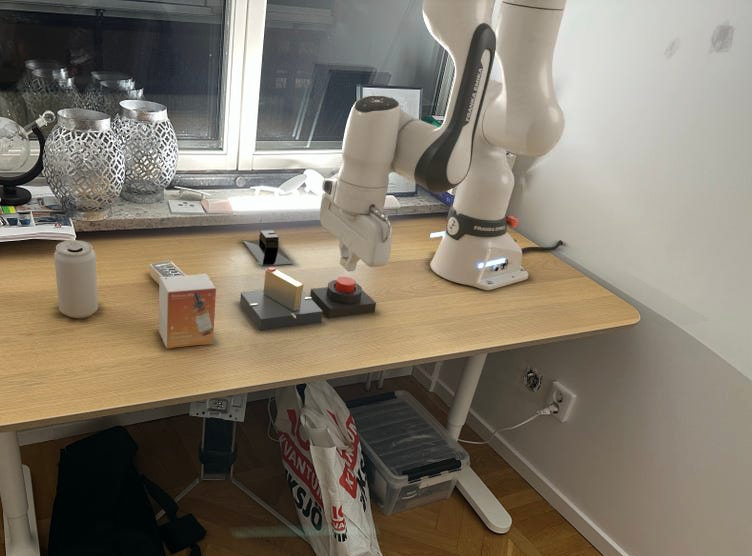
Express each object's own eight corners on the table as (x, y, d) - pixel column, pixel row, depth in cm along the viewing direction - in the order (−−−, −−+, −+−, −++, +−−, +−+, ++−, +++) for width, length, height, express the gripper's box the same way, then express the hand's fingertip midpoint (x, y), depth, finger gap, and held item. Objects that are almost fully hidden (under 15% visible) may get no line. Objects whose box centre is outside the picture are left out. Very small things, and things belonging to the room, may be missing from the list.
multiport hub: (174, 300, 120) (174, 288, 119) (149, 274, 127) (149, 263, 126) (195, 295, 123) (196, 284, 121) (170, 271, 130) (170, 260, 128)
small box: (166, 350, 106) (166, 292, 100) (158, 332, 110) (158, 275, 105) (214, 344, 109) (217, 287, 104) (204, 327, 113) (206, 272, 108)
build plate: (293, 265, 139) (295, 245, 136) (260, 267, 136) (262, 247, 134) (272, 241, 148) (274, 221, 146) (242, 242, 145) (243, 222, 143)
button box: (354, 293, 131) (357, 275, 129) (374, 313, 125) (378, 294, 123) (309, 298, 127) (312, 280, 125) (328, 319, 121) (331, 300, 119)
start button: (348, 283, 126) (349, 275, 125) (357, 292, 124) (359, 284, 123) (331, 285, 125) (333, 277, 124) (340, 294, 122) (342, 285, 121)
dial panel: (296, 294, 128) (297, 282, 126) (324, 326, 119) (326, 313, 117) (237, 301, 123) (238, 288, 121) (262, 334, 114) (263, 321, 112)
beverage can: (63, 322, 109) (57, 256, 103) (56, 304, 114) (50, 240, 107) (102, 317, 112) (98, 252, 106) (93, 300, 117) (90, 237, 110)
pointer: (300, 309, 118) (303, 283, 115) (293, 311, 117) (297, 285, 114) (269, 291, 122) (272, 266, 119) (263, 293, 121) (265, 268, 118)
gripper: (407, 217, 108) (390, 292, 115) (348, 176, 123) (337, 244, 130) (375, 219, 105) (360, 295, 113) (318, 176, 120) (308, 246, 128)
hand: (347, 268), depth 122 cm, fingers closed
